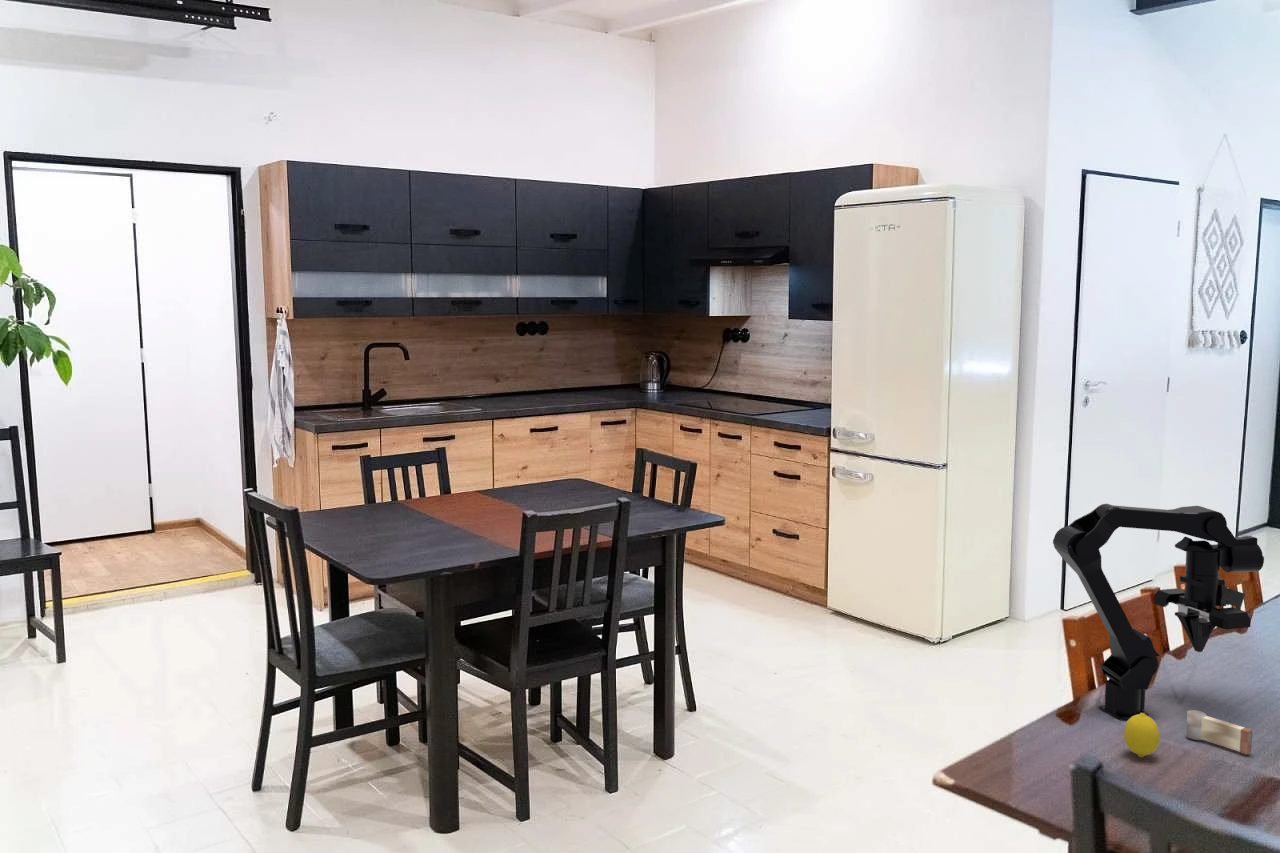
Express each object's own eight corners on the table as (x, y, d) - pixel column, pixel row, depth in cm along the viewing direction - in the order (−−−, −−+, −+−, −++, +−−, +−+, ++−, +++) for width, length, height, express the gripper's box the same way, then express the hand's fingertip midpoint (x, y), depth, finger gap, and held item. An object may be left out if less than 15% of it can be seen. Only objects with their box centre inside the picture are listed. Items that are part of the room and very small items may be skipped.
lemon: (1156, 766, 177) (1158, 721, 176) (1121, 759, 180) (1123, 715, 179) (1160, 754, 181) (1161, 711, 181) (1125, 748, 184) (1127, 705, 183)
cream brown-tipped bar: (1183, 735, 188) (1184, 712, 188) (1191, 732, 190) (1192, 709, 190) (1244, 756, 179) (1246, 731, 179) (1253, 751, 181) (1254, 727, 181)
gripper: (1277, 581, 191) (1273, 662, 193) (1200, 558, 209) (1196, 633, 211) (1227, 585, 188) (1223, 668, 190) (1153, 562, 206) (1150, 638, 208)
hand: (1198, 651), depth 200 cm, fingers closed
